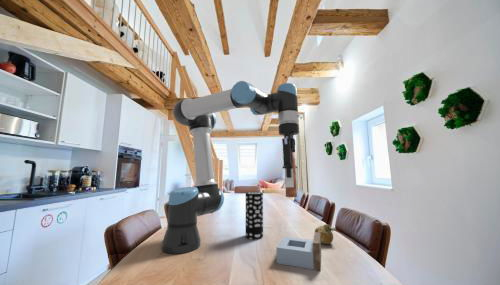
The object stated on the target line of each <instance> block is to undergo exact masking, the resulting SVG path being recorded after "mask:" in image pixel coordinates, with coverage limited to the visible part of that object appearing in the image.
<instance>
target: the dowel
mask: <svg viewBox="0 0 500 285" xmlns="http://www.w3.org/2000/svg"><path fill="white" fill-rule="evenodd" d="M295 159H296V151H295V152H292V168H291V169H293V181H294V187H286V180H285V179H284V181H285V182H284V184H285V188H284V189H285V198H297V197H298V191H297V190H298V188H297V185H298V184H297V168H296V167H297V165H296V164H297V163H296V162H295ZM285 169H286V168H284V170H285Z"/></svg>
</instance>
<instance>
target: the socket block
mask: <svg viewBox="0 0 500 285" xmlns="http://www.w3.org/2000/svg"><path fill="white" fill-rule="evenodd" d="M275 248H276V253H275V254H276V264H280V265H286V266H293V267H299V268H303V269H304V268H305V269H311V270H314V260H313V239H306V238H300V237H299V238H298V237H289V236H283V237H282V238H281V239H280V241H279V243H278V244H277V246H276V247H275Z"/></svg>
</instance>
